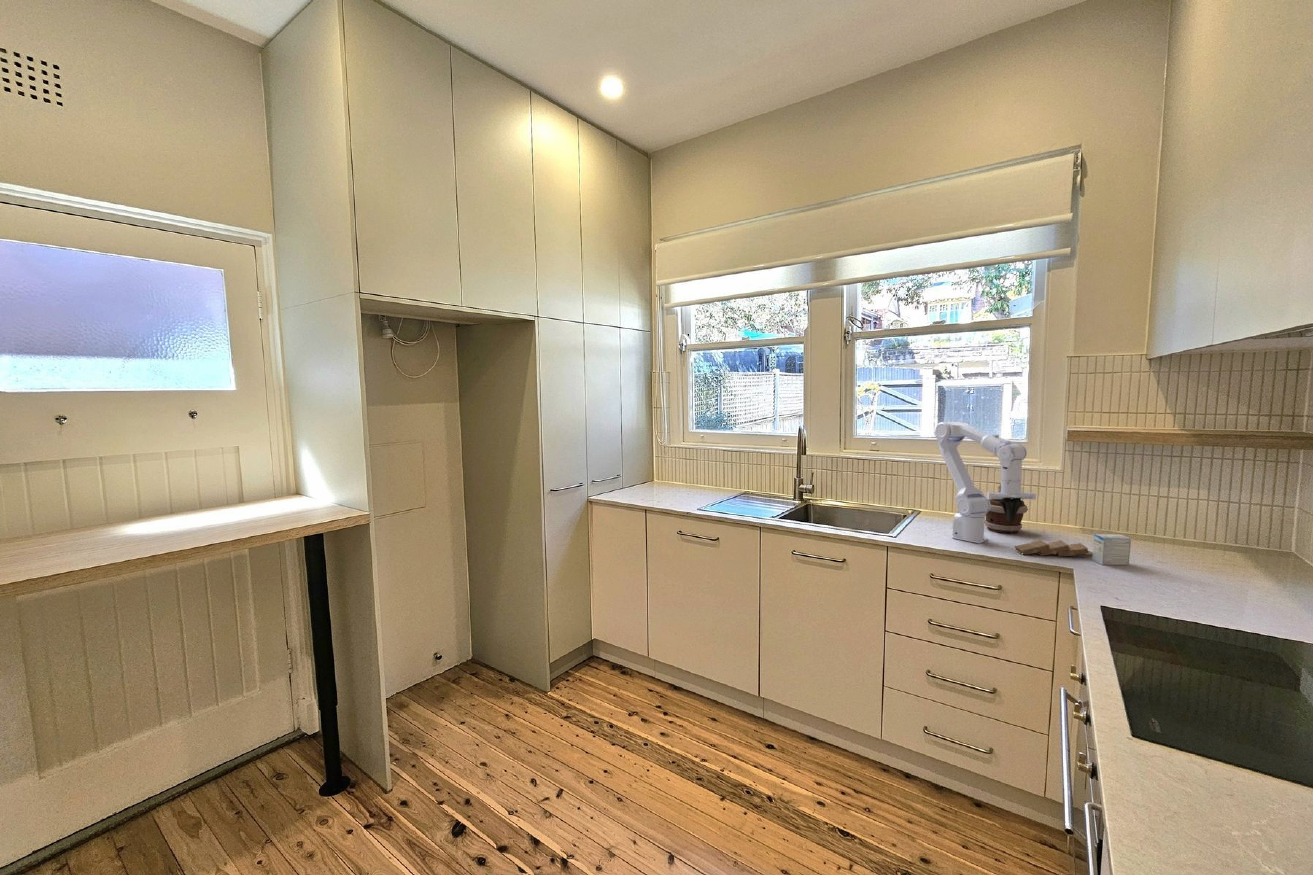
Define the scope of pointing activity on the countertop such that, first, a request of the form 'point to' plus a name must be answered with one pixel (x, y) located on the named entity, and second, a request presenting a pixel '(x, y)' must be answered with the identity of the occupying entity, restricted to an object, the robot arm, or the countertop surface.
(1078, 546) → the domino
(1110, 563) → the medicine box
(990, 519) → the flowerpot
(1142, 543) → the countertop surface
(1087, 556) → the domino
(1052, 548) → the domino
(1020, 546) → the domino
